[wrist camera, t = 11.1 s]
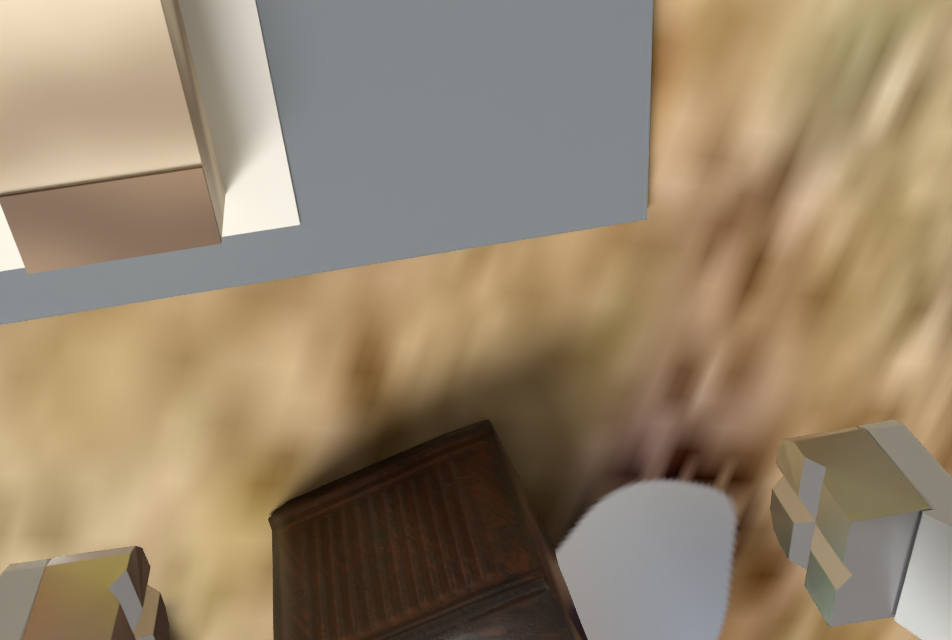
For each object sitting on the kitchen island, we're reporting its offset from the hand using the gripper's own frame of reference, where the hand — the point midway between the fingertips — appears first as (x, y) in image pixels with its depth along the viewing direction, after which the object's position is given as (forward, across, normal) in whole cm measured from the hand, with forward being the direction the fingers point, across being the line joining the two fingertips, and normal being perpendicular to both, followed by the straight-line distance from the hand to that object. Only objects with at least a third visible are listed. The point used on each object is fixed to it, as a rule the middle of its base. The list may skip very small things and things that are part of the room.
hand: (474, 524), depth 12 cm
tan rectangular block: (+20, +8, -1) cm, 22 cm away
